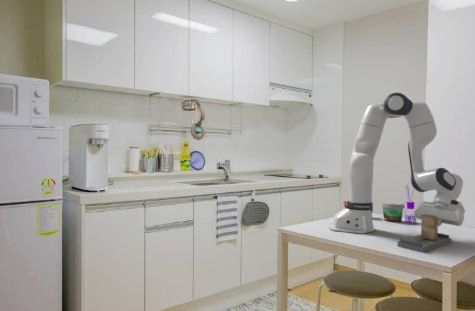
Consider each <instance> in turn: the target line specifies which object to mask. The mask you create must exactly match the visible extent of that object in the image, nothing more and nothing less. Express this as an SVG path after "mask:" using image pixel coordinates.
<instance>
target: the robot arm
mask: <svg viewBox="0 0 475 311" xmlns="http://www.w3.org/2000/svg"><path fill="white" fill-rule="evenodd" d="M401 117H403V118H404V119H406V122H407V125H408V128H409V131H410V134H409V135H410V138H409V141H408V143H407V144H408V145H407V148H408V158H409V167H410V175H411V176H410V184H411V186H412V187H413V188H414V190H416V192H419V193H425V192H429V191H436V194H435V196H434V198H433V200H432V201H431V202H430V201H422V202H419V204H418V206H417V207H416V208H415V210H414V212H413V214H414V216H415V218H416V219H419V220H422V215H424V214H430V215H431V214H433V215H436V216H438V228H439V227H440V226H442V225H443V224H445V225H451V226H457V227H460V226H462V225H463V224H464V221H465V215H464V214H465V212H466V210H465V207H464V205H463V203H462V202H460V201H458V198H459V197H460V196H461V194H462V190H463V186H464V181H463V178H462V177H461V176H460V175H458V174H456V173H451V172H450V171H449V170H448V169H446V168H445V167H437V168H431V169H427V170H425V169H424V163H423V162H424V160H423V150H424V149H425V148H426V147H427V146H428V145H430V143H432V142H433V141H434V140H435V139H436V137H437V134H438V132H437V131H438V130H437V128H438V127H437V125H436V122H435V119H434V116H433V113H432V111H431V110H430V107H429V106H428V104H427V103H425V102H422V101H417V102H413V101H412V100H411V99H410V98H408V97H407V96H406V95H405V94H403V93H401V92H393V93H390V94H388V95H387V96H386V97H385V99H384V101H383V103H380V104H379V103H371V104H370V105H369V106H367V107H366V109H365V111H364V113H363V116H362V118H361V122H360V125H359V128H358V131H357V135H356V138H355V142H354V145H353V149H352V151H351V156H350V159H349V179H348V180H349V185H348V200H343V201H342V204H343V205H344V208H343V209H340V211H338V212H336V213H335V214H334V216H333V220H332V222H330V223H328V229H329V230H331V231H335V232H344V233H354V234H366V233H371V232H374V231H375V227H374V222H373V211H374V204H373V202H372V201H373V180H374V166H375V165H374V163H375V162H374V158H375V157H376V153H377V150H378V148H379V145H380V141H381V138H382V135H383V131H384V128H385V125H386V121H387V120H388V119H392V118H393V119H395V118H401Z"/></svg>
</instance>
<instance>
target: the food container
mask: <svg viewBox="0 0 475 311" xmlns="http://www.w3.org/2000/svg"><path fill="white" fill-rule="evenodd" d="M381 207H382V213H383V214H382V215H383V216H382V217H383V221H384V222H387V223H395V222H398V223H401V222H402V219H403V211H404V209H405V204H404V203H402V204H396V203H386V202H385V203H384V202H382V204H381Z"/></svg>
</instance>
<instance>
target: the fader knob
mask: <svg viewBox="0 0 475 311" xmlns="http://www.w3.org/2000/svg"><path fill="white" fill-rule="evenodd" d="M420 226H421V227H420V228H421V229H420V230H421V232H420V235H421V237H422V238H427V239H432V240H434V239H437V235H438V233H439V232H438V231H439V229H438V228H439V227H438V216H436V215H433V214H431V215H430V214H424V215H422V219H421V225H420Z"/></svg>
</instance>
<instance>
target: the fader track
mask: <svg viewBox="0 0 475 311" xmlns="http://www.w3.org/2000/svg"><path fill="white" fill-rule="evenodd" d="M448 244H452V238H451V237H450V235H449V234H445V233H440V232H438V235H437V239H434V240H432V239H427V238H422V237H421V234H420V235H416V236H412V237H409V238H405V239H404V238H400V239H399V240H398V241H397V247H398V248H400V247H401V248H404V249H408V250H410V251H411V250H412V251H416V252H418V253H419V252H420V253H426V252H430V251H431V250H434V249H437V248H440V247H443V246H446V245H448Z"/></svg>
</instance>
